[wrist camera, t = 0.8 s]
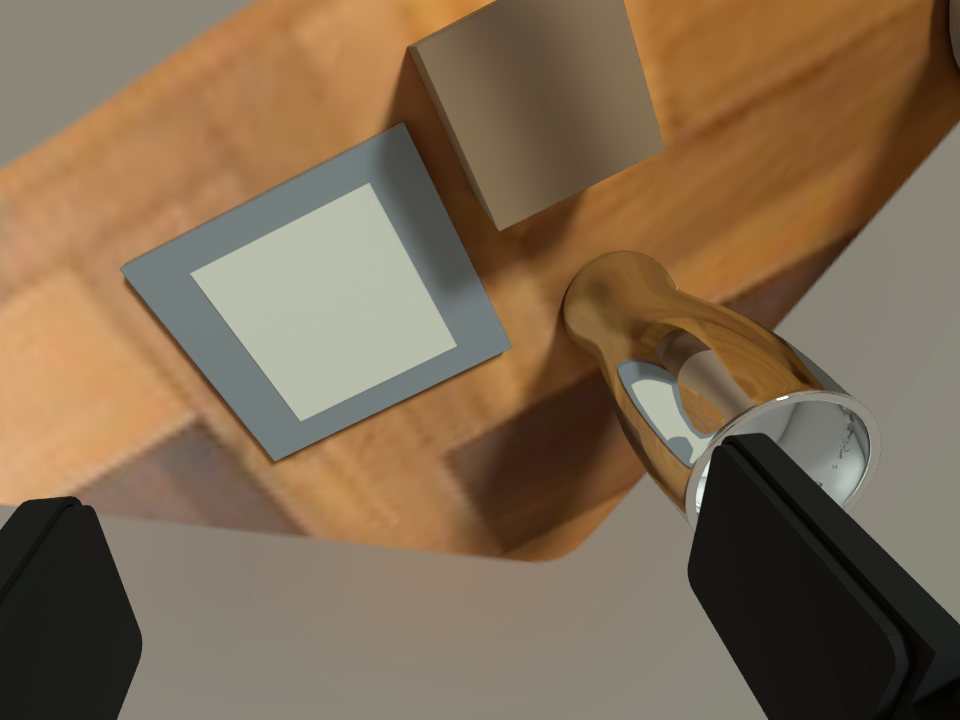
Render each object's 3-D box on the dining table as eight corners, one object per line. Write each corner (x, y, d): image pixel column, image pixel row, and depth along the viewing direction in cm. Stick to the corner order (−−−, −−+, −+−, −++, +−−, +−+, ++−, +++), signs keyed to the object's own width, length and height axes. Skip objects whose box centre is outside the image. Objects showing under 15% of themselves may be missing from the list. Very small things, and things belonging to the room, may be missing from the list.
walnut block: (558, -33, 25) (608, -54, 20) (610, 130, 28) (665, 149, 23) (407, 46, 25) (416, 46, 20) (475, 198, 29) (499, 231, 23)
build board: (403, 121, 27) (404, 123, 26) (508, 339, 32) (512, 348, 31) (127, 262, 27) (118, 270, 26) (277, 450, 33) (274, 462, 32)
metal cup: (645, 374, 35) (813, 574, 21) (535, 347, 33) (644, 549, 20) (701, 261, 32) (931, 410, 19) (583, 225, 30) (749, 363, 17)
